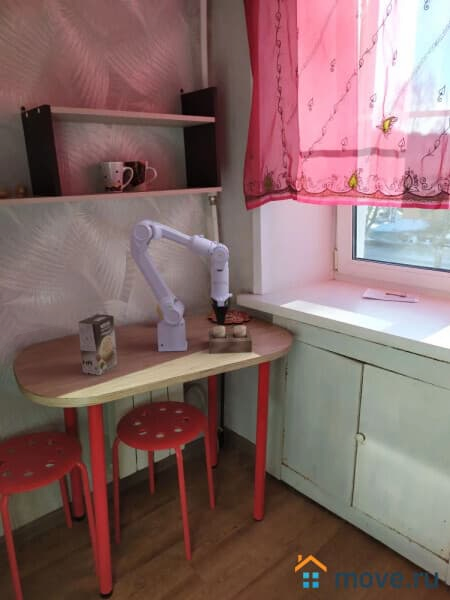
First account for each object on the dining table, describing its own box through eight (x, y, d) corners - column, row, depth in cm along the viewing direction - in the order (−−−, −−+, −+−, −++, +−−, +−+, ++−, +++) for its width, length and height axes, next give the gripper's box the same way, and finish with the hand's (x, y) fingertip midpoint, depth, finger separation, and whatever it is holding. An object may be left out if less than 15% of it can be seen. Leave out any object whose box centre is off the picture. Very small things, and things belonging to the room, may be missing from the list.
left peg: (213, 339, 155) (213, 329, 154) (213, 335, 159) (213, 325, 158) (225, 339, 155) (225, 329, 154) (224, 335, 159) (224, 325, 158)
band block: (209, 353, 153) (209, 342, 152) (209, 341, 163) (208, 330, 162) (251, 352, 153) (251, 340, 152) (248, 340, 164) (248, 329, 163)
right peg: (234, 339, 155) (234, 329, 154) (233, 335, 159) (233, 325, 158) (246, 338, 156) (246, 328, 155) (245, 334, 159) (245, 325, 158)
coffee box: (100, 376, 137) (95, 324, 132) (82, 373, 139) (77, 322, 135) (117, 364, 145) (113, 315, 141) (100, 361, 147) (96, 313, 143)
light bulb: (154, 328, 178) (152, 302, 175) (163, 323, 183) (162, 298, 181) (167, 330, 175) (166, 305, 172) (177, 325, 181) (176, 300, 178)
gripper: (233, 286, 145) (233, 327, 149) (230, 276, 159) (230, 314, 163) (211, 287, 145) (211, 328, 148) (210, 276, 159) (210, 314, 162)
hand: (220, 320), depth 156 cm, fingers open, 7 cm apart
